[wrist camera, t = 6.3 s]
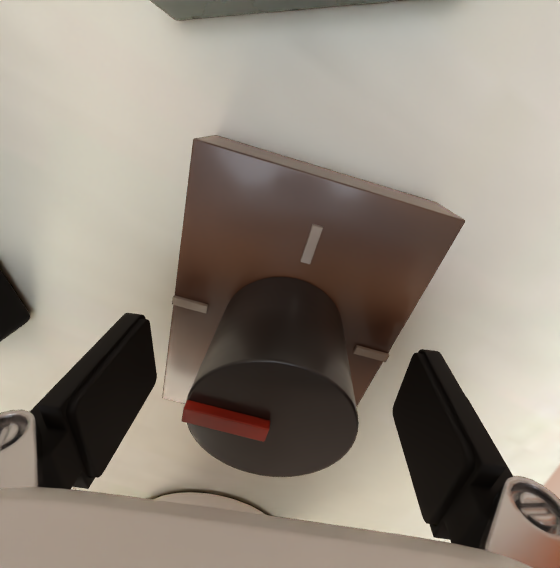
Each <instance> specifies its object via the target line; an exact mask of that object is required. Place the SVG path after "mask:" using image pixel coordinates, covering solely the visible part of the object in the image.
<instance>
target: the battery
mask: <svg viewBox="0 0 560 568" xmlns="http://www.w3.org/2000/svg"><path fill="white" fill-rule="evenodd" d="M29 319H30V314H29V312H28V311H27V309H26V308H25V306H24V305H23V303H22V302H21V300H20V299H19V297H18V296H17V294H16V293H15V291H14V290H13V288H12V287H11V285H10V284H9V282H8V281H7V279H6V278H5V276H4V275H3V273H2V272H1V270H0V341H2V340H3V339H4V338H6V337H7V336H9V335H10V334H11V333H13V332H14V331H16V330H17V329H18V328H20V327H21V326H22V325H24V324H25V323H26V322H27V321H28V320H29Z"/></svg>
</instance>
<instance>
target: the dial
mask: <svg viewBox="0 0 560 568" xmlns="http://www.w3.org/2000/svg"><path fill="white" fill-rule="evenodd" d="M182 422H186V423H187V425H188V428H189V430H190V432H191V434H192V435H193V437H194V438H195V440H196V441H197V442H198V443H199V445H200V446H201V447H202V448H203V449H204V450H206V451H207V452H208V453H209V454H210V455H212V456H213V457H215V458H216V459H218V460H220V461H221V462H223V463H225V464H227V465H229V466H231V467H234V468H236V469H239V470H242V471H245V472H249V473H253V474H257V475H263V476H272V477H292V476H300V475H305V474H310V473H314V472H317V471H320V470H322V469H325V468H327V467H329V466H331V465H332V464H334V463H336V462H337V461H338V460H340V459H341V458H342V457H343V456H344V455H345V454H346V453H347V452H348V451H349V450H350V448H351V447H352V445H353V443H354V441H355V439H356V436H357V432H358V424H359V422H358V414H357V408H356V402H355V396H354V390H353V384H352V378H351V372H350V367H349V361H348V355H347V349H346V343H345V337H344V331H343V325H342V320H341V316H340V313H339V311H338V309H337V307H336V305H335V304H334V302H333V301H332V300H331V299H330V298H329V296H328V295H326V294H325V293H324V292H323V291H322V290H320V289H319V288H317V287H316V286H314V285H312V284H310V283H308V282H305V281H302V280H299V279H295V278H289V277H271V278H265V279H261V280H257V281H255V282H253V283H250V284H248V285H247V286H245V287H243V288H242V289H241V290H239V291H238V292H237V293H236V294H235V295H234V296H233V297H232V299H231V300H230V302H229V303H228V305H227V307H226V310H225V312H224V314H223V316H222V319H221V321H220V323H219V325H218V328H217V330H216V332H215V335H214V337H213V339H212V341H211V344H210V346H209V348H208V350H207V353H206V355H205V357H204V360H203V362H202V364H201V366H200V369H199V371H198V373H197V375H196V378H195V380H194V382H193V385H192V387H191V389H190V391H189V394H188V396H187V400H186V404H185V406H184V410H183V416H182Z"/></svg>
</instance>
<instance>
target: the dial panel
mask: <svg viewBox="0 0 560 568" xmlns="http://www.w3.org/2000/svg"><path fill="white" fill-rule="evenodd" d="M464 223H465V220H464V219H462V218H461V217H459V216H457V215H456V214H454V213H453V212H451V211H449V210H448V209H446V208H445V207H443V206H442V205H440V204H438V203H437V202H434V201H430V200H427V199H424V198H420V197H417V196H414V195H411V194H407V193H404V192H401V191H397V190H394V189H391V188H388V187H384V186H381V185H378V184H374V183H371V182H368V181H365V180H361V179H358V178H355V177H351V176H348V175H345V174H342V173H338V172H335V171H332V170H328V169H325V168H322V167H319V166H315V165H312V164H309V163H305V162H302V161H299V160H296V159H292V158H289V157H286V156H282V155H279V154H276V153H273V152H269V151H266V150H263V149H259V148H256V147H253V146H250V145H246V144H243V143H240V142H236V141H233V140H230V139H227V138H223V137H220V136H217V135H214V136H208V137H201V138H194V139H193V146H192V154H191V163H190V171H189V179H188V188H187V196H186V204H185V213H184V221H183V229H182V238H181V246H180V254H179V263H178V271H177V279H176V288H175V295H174V296H173V299H172V304H173V313H172V321H171V329H170V338H169V346H168V354H167V363H166V371H165V379H164V388H163V396H162V398H164V399H168V400H172V401H175V402H179V403H183V404H186V400H187V396H188V394H189V391H190V389H191V387H192V385H193V382H194V380H195V378H196V375H197V373H198V371H199V369H200V366H201V364H202V362H203V360H204V357H205V355H206V353H207V350H208V348H209V346H210V344H211V341H212V339H213V337H214V335H215V332H216V330H217V328H218V325H219V323H220V321H221V319H222V316H223V314H224V312H225V310H226V307H227V305H228V303H229V302H230V300H231V299H232V297H233V296H234V295H235V294H236V293H237V292H238V291H239V290H241V289H242V288H243V287H245V286H247V285H248V284H250V283H253V282H255V281H257V280H261V279H265V278H271V277H289V278H295V279H299V280H302V281H305V282H308V283H310V284H312V285H314V286H316V287H317V288H319V289H320V290H322V291H323V292H324V293H325V294H326V295H328V296H329V298H330V299H331V300H332V301H333V302H334V304H335V305H336V307H337V309H338V311H339V313H340V316H341V320H342V325H343V331H344V337H345V343H346V349H347V355H348V361H349V367H350V372H351V378H352V384H353V390H354V396H355V402H356V407H357V405H358V403H359V402H360V400H361V398H362V397H363V395H364V393H365V391H366V390H367V388H368V386H369V385H370V383H371V381H372V379H373V378H374V376H375V374H376V373H377V371H378V369H379V368H380V366H381V364H382V362H386V360H387V359H388V357H389V354H388V352H389V350H390V349H391V347H392V345H393V344H394V342H395V340H396V339H397V337H398V335H399V333H400V332H401V330H402V328H403V327H404V325H405V323H406V321H407V320H408V318H409V316H410V315H411V313H412V311H413V310H414V308H415V306H416V304H417V303H418V301H419V299H420V298H421V296H422V294H423V292H424V291H425V289H426V287H427V286H428V284H429V282H430V281H431V279H432V277H433V275H434V274H435V272H436V270H437V269H438V267H439V265H440V263H441V262H442V260H443V258H444V257H445V255H446V253H447V252H448V250H449V248H450V246H451V245H452V243H453V241H454V240H455V238H456V236H457V234H458V233H459V231H460V229H461V228H462V226H463V224H464Z"/></svg>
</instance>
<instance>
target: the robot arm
mask: <svg viewBox="0 0 560 568" xmlns="http://www.w3.org/2000/svg"><path fill="white" fill-rule="evenodd" d="M156 378H157V374H156V366H155V359H154V351H153V343H152V336H151V328H150V322H149V320H147V319H145V316H144V315H140V314H132V313H125V314H124V315H123V316H122V317H121V318H120V319H119V320H118V321H117V322H116V323H115V324H114V325H113V326H112V327H111V328H110V330H109V331H108V332H107V333H106V334H105V335H104V336H103V337H102V338H101V339H100V340H99V341H98V342H97V343H96V344H95V345H94V346H93V347H92V348H91V349H90V350H89V351H88V352H87V353H86V354H85V355H84V356H83V357H82V358H81V359H80V360H79V361H78V362H77V363H76V364H75V366H74V367H73V368H72V369H71V370H70V371H69V372H68V373H67V374H66V375H65V376H64V377H63V378H62V379H61V380H60V381H59V382H58V383H57V384H56V385H55V386H54V387H53V388H52V389H51V390H50V391H49V392H48V393H47V394H46V396H45V397H44V398H43V399H42V400H41V401H40V402H39V403H38V404H37V405H36V406H35V407H34V408H33V409H32V410H31V411H30V412H29V411H25V410H10V411H6V412H2V413H0V568H560V499H559V498H558V497H557V496H556V495H555V494H553V493H552V492H551V491H550V490H548V489H547V488H546V487H544V486H543V485H541V484H539V483H537V482H535V481H534V480H531V479H528V478H525V477H520V476H513V475H512V473H511V472H510V470H509V468H508V467H507V465H506V463H505V461H504V460H503V458H502V456H501V455H500V453H499V451H498V449H497V448H496V446H495V444H494V443H493V441H492V439H491V438H490V436H489V434H488V432H487V431H486V429H485V427H484V426H483V424H482V422H481V420H480V419H479V417H478V415H477V414H476V412H475V410H474V408H473V407H472V405H471V403H470V402H469V400H468V399H467V397H466V396H465V394H464V393H463V391H462V389H461V388H460V386H459V384H458V382H457V381H456V379H455V377H454V376H453V374H452V372H451V370H450V369H449V367H448V365H447V363H446V362H445V360H444V358H443V357H442V355H441V354H440V352H438V351H431V350H423V349H421V350H419V352H418V353H414V354H413V356H412V358H411V361H410V363H409V366H408V369H407V371H406V374H405V376H404V379H403V382H402V384H401V387H400V389H399V392H398V395H397V397H396V400H395V402H394V405H393V418H394V421H395V425H396V428H397V431H398V435H399V438H400V442H401V445H402V448H403V452H404V455H405V459H406V462H407V465H408V469H409V472H410V476H411V479H412V482H413V486H414V489H415V493H416V496H417V499H418V503H419V506H420V510H421V513H422V516H423V519H424V521H425V522H426V523H428V524H430V527H431V530H432V533H433V536H434V537H436V538H443V539H450V540H451V543H448V542H442V541H436V540H430V539H424V538H418V537H412V536H406V535H400V534H393V533H386V532H379V531H373V530H366V529H359V528H352V527H345V526H338V525H332V524H325V523H318V522H311V521H304V520H297V519H290V518H283V517H276V516H269V515H265V514H264V513H263V512H261V511H259V510H258V509H256V508H254V507H252V506H250V505H248V504H245V503H243V502H240V501H238V500H235V499H231V498H227V497H224V496H220V495H214V494H208V493H195V492H186V493H174V494H168V495H164V496H161V497H158V498H155V499H153V500H152V499H145V498H137V497H130V496H122V495H114V494H106V493H97V492H88V491H80V490H71V488H72V487H79V488H86V489H88V488H89V487H90V485H91V484H92V482H93V480H94V479H95V477H97V478H98V477H100V476H101V475H102V473H103V472H104V470H105V469H106V467H107V465H108V464H109V462H110V460H111V458H112V457H113V455H114V453H115V452H116V450H117V448H118V447H119V445H120V443H121V441H122V440H123V438H124V436H125V435H126V433H127V431H128V429H129V428H130V426H131V424H132V423H133V421H134V419H135V418H136V416H137V414H138V412H139V411H140V409H141V407H142V406H143V404H144V402H145V401H146V399H147V397H148V395H149V394H150V392H151V390H152V389H153V387H154V385H155V382H156Z"/></svg>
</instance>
